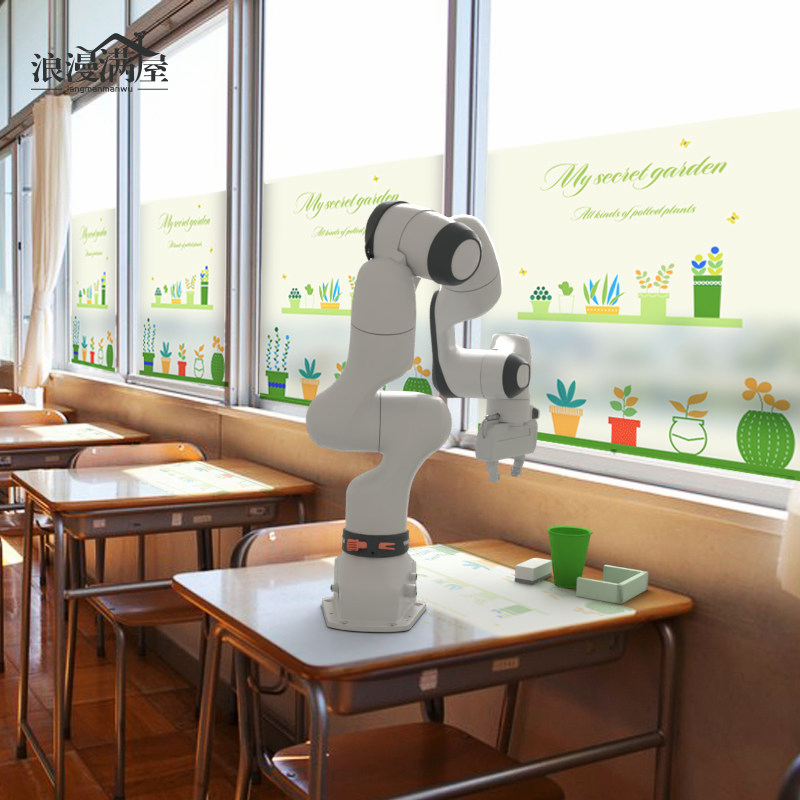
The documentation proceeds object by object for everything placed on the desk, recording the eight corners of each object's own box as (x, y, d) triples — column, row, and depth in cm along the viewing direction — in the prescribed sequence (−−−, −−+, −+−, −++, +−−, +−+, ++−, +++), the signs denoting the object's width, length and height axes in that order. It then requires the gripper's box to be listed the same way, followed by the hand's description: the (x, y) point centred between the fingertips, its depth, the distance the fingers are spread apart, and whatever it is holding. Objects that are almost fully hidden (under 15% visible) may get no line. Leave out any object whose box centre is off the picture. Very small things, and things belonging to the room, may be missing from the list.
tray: (620, 604, 195) (621, 585, 195) (576, 596, 200) (576, 578, 199) (647, 589, 206) (648, 571, 206) (604, 581, 211) (605, 564, 211)
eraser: (532, 585, 208) (533, 568, 207) (514, 582, 210) (515, 565, 209) (551, 577, 215) (552, 560, 215) (533, 574, 217) (534, 557, 217)
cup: (535, 583, 209) (537, 528, 208) (565, 576, 215) (567, 524, 214) (569, 592, 202) (571, 536, 201) (599, 586, 208) (602, 531, 207)
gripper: (497, 417, 203) (494, 487, 205) (543, 410, 220) (540, 475, 222) (468, 414, 207) (466, 483, 208) (517, 407, 224) (514, 471, 225)
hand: (505, 479), depth 215 cm, fingers open, 8 cm apart
